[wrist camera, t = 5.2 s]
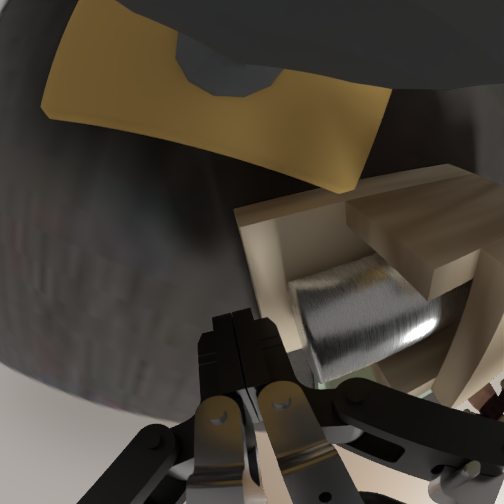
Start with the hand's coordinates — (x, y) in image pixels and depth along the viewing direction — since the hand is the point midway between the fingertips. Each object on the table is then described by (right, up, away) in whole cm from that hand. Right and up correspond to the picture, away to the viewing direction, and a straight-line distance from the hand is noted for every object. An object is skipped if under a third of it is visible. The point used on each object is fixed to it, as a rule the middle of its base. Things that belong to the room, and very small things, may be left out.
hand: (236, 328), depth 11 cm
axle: (+9, +2, -1) cm, 9 cm away
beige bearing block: (+6, +3, +3) cm, 8 cm away
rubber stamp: (-1, +10, -2) cm, 10 cm away
